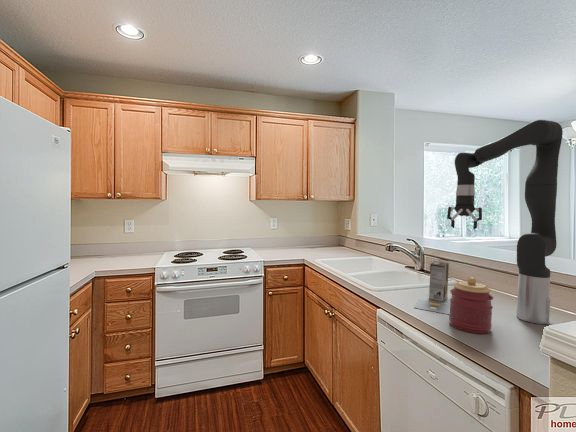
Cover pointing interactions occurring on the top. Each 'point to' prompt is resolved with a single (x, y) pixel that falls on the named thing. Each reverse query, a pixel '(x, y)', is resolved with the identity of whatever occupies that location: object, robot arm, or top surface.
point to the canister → (471, 307)
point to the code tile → (433, 306)
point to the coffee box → (438, 280)
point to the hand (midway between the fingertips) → (463, 228)
